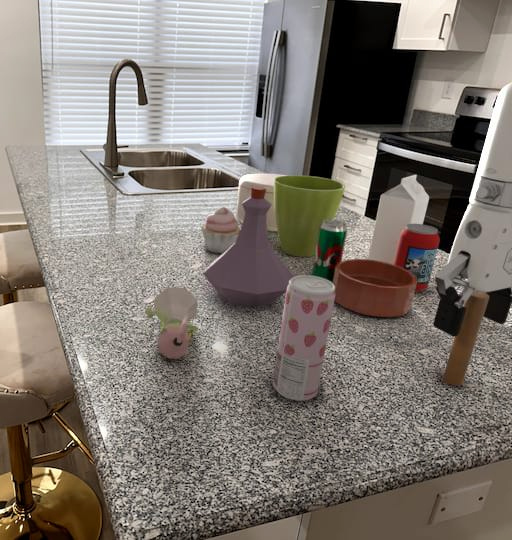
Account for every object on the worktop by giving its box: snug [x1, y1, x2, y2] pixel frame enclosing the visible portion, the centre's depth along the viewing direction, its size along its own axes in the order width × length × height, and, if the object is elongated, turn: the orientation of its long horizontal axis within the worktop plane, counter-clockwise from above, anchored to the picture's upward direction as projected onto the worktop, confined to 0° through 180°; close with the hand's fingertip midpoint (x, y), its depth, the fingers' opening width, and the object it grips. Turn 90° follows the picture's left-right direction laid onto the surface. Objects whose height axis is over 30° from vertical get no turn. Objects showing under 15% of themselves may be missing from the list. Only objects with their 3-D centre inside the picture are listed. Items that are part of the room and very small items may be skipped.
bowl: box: [333, 258, 417, 318], centre depth 91 cm, size 13×13×6 cm
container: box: [235, 173, 288, 232], centre depth 135 cm, size 18×18×12 cm
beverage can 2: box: [393, 223, 441, 293], centre depth 98 cm, size 7×7×12 cm
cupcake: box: [200, 206, 241, 254], centre depth 114 cm, size 9×9×10 cm
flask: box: [202, 186, 296, 309], centre depth 89 cm, size 16×16×20 cm
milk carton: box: [367, 174, 430, 264], centre depth 108 cm, size 7×7×19 cm
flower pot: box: [274, 174, 346, 258], centre depth 114 cm, size 15×15×16 cm
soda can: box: [311, 219, 348, 283], centre depth 99 cm, size 5×5×12 cm
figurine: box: [144, 286, 199, 360], centre depth 76 cm, size 9×7×15 cm
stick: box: [442, 290, 489, 387], centre depth 67 cm, size 2×2×13 cm
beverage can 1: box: [272, 274, 335, 402], centre depth 64 cm, size 6×6×15 cm
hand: (469, 324), depth 66 cm, fingers open, 8 cm apart
